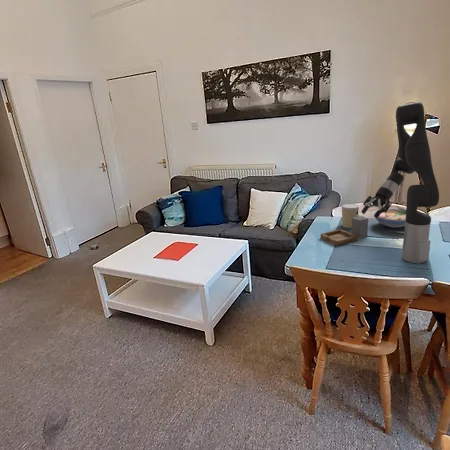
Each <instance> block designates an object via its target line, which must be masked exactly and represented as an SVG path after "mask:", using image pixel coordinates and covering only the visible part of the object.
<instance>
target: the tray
mask: <svg viewBox="0 0 450 450" xmlns="http://www.w3.org/2000/svg"><path fill="white" fill-rule="evenodd" d="M320 239H321V240H323V241H326V242H328V243H330V244H332V245H334V246H336V247H340V246H343V245H348V244H350V243H354V242H358V241H359V238H358V236H356V235H354V234H352V232H349V231H346V230H343V229H341V228H339V229H335V230H331V231H327V232H324V233H320Z"/></svg>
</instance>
